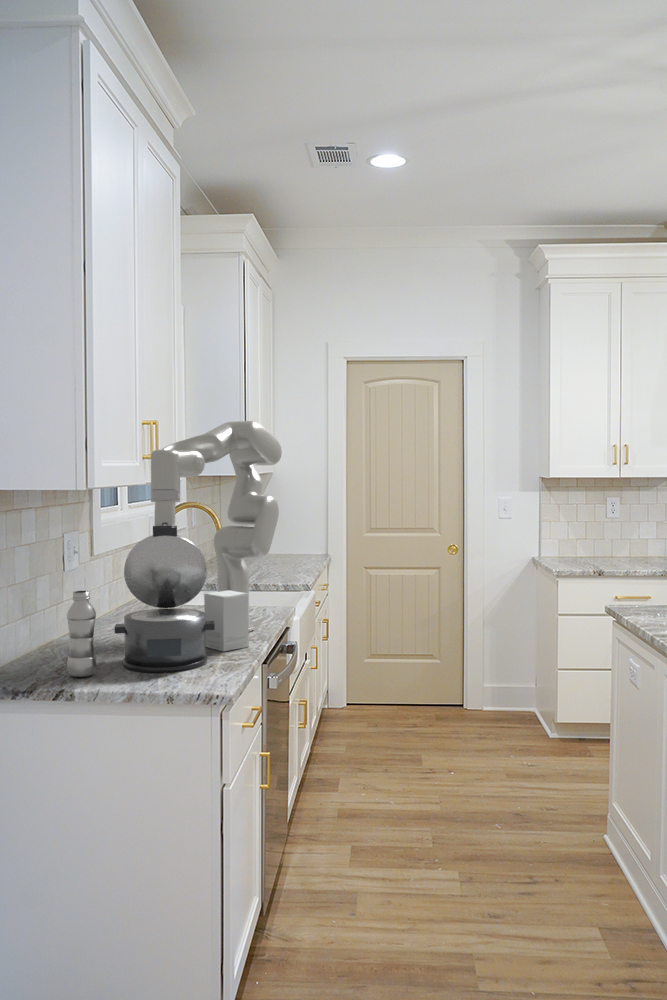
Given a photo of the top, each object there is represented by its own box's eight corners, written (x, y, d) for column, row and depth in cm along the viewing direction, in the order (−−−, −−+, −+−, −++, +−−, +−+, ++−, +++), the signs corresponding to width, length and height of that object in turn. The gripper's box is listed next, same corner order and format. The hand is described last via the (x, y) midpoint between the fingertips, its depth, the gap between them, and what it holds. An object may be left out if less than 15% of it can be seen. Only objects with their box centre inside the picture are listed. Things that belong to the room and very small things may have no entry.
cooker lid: (125, 609, 207) (126, 602, 210) (206, 606, 211) (206, 600, 214) (122, 528, 198) (123, 522, 202) (206, 527, 202) (206, 521, 205)
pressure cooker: (119, 654, 208) (119, 608, 208) (213, 650, 213) (213, 605, 212) (111, 675, 187) (110, 624, 186) (215, 670, 191) (215, 620, 191)
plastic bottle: (74, 672, 190) (72, 589, 189) (101, 673, 189) (100, 589, 188) (62, 679, 183) (60, 593, 183) (90, 680, 183) (89, 594, 182)
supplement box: (250, 647, 217) (249, 592, 216) (223, 652, 211) (223, 596, 210) (230, 642, 223) (229, 589, 223) (203, 647, 217) (203, 592, 216)
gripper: (152, 495, 215) (152, 563, 216) (149, 497, 200) (149, 569, 201) (180, 495, 216) (180, 562, 217) (179, 497, 202) (179, 568, 202)
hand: (165, 565), depth 209 cm, fingers closed
